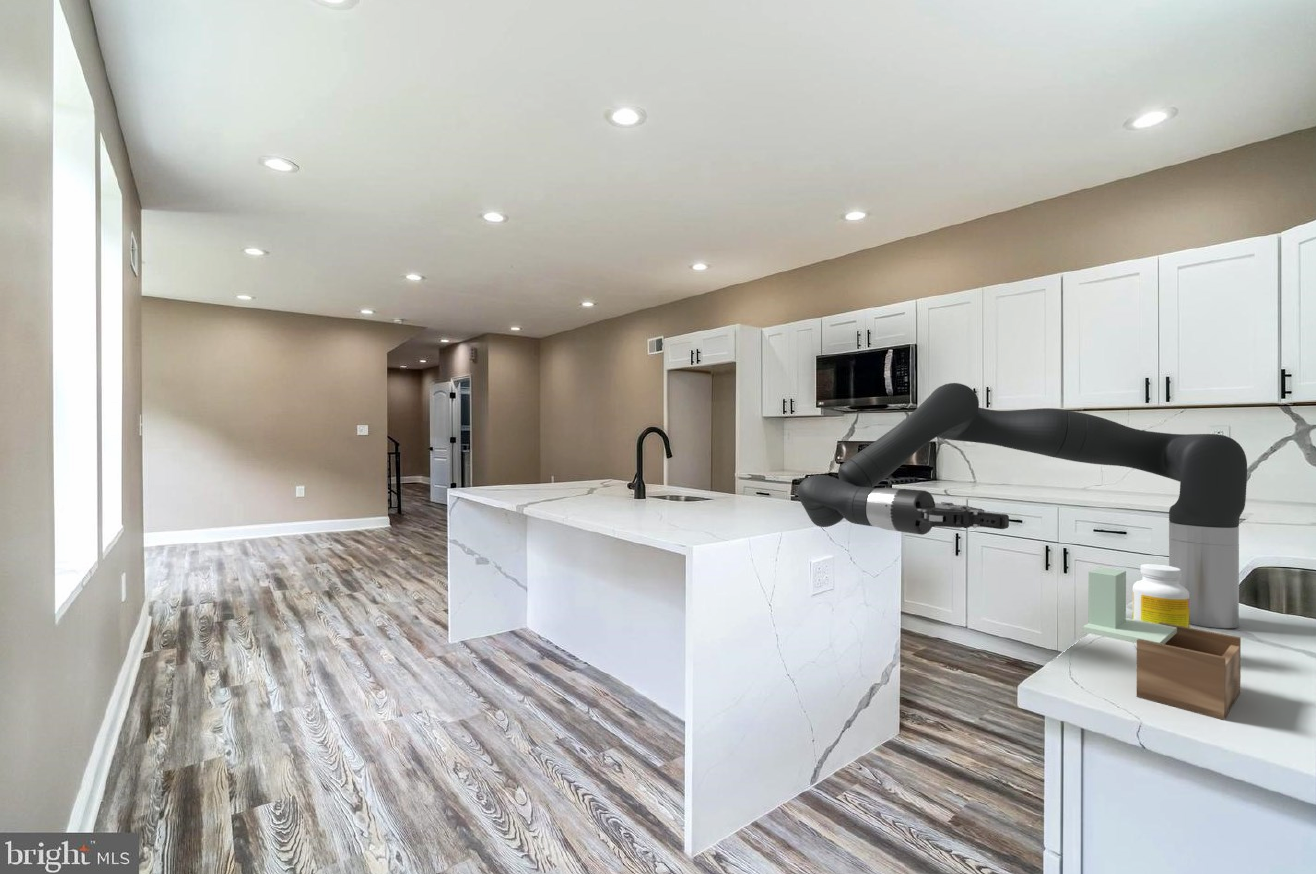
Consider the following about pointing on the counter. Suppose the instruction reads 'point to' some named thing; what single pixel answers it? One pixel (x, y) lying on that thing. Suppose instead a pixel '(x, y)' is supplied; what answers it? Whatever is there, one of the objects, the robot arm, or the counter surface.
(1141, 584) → the supplement bottle
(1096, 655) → the counter surface
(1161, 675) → the walnut box
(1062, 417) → the robot arm
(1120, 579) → the sage lid
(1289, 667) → the counter surface
